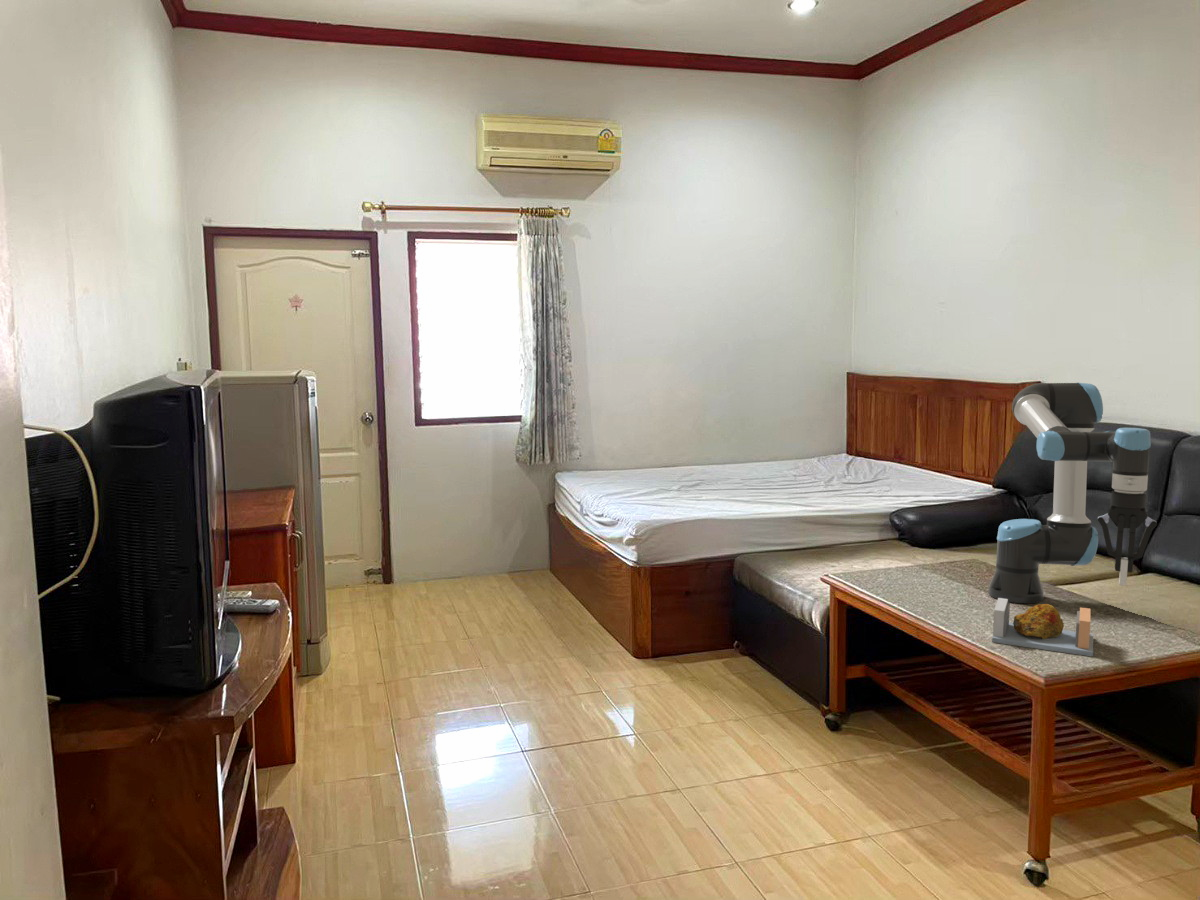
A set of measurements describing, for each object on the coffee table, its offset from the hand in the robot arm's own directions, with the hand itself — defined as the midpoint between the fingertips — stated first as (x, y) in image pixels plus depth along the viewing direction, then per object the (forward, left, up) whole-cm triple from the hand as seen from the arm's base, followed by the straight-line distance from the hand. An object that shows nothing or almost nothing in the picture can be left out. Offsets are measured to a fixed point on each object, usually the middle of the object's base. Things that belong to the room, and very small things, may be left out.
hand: (1122, 584), depth 223 cm
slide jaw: (0, -8, -16) cm, 18 cm away
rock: (-1, -18, -16) cm, 24 cm away
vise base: (0, -17, -17) cm, 24 cm away
